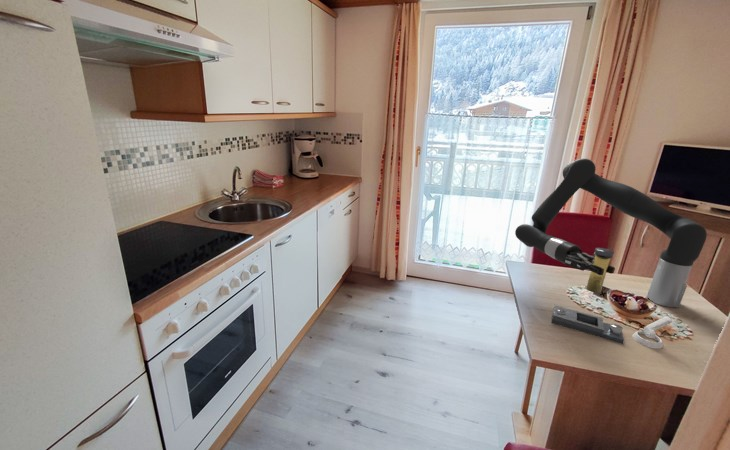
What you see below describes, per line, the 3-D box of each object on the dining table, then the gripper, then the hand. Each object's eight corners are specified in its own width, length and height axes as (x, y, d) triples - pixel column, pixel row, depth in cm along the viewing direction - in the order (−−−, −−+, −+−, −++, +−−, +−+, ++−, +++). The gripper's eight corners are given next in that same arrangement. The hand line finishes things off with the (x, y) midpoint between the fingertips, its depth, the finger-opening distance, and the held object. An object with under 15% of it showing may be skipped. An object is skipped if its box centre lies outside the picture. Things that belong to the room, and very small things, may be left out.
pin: (601, 289, 109) (613, 249, 104) (602, 295, 105) (614, 254, 100) (584, 284, 111) (595, 246, 107) (584, 290, 107) (595, 251, 103)
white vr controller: (693, 341, 98) (676, 328, 97) (652, 358, 104) (636, 346, 103) (679, 322, 104) (663, 310, 103) (642, 340, 110) (626, 328, 110)
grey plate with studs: (620, 331, 110) (622, 322, 109) (622, 344, 103) (625, 335, 102) (552, 312, 120) (554, 303, 119) (551, 322, 113) (553, 314, 112)
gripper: (548, 242, 115) (594, 263, 100) (579, 239, 119) (627, 258, 104) (544, 262, 117) (588, 285, 102) (574, 258, 122) (621, 279, 106)
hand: (608, 271), depth 103 cm, fingers closed on pin, 4 cm apart
